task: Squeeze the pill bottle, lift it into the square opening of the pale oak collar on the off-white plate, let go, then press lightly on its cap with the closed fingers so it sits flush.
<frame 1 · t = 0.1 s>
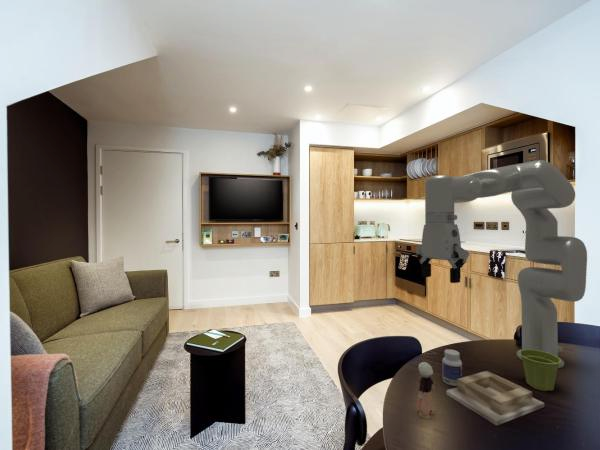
hand: (440, 279, 84), 31 cm above the table, tool pointing down, fingers open, 9 cm apart
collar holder: (493, 400, 79), on the table
plant pot: (539, 386, 85), on the table
pill bottle: (452, 382, 88), on the table
grandmother figurine: (425, 415, 73), on the table
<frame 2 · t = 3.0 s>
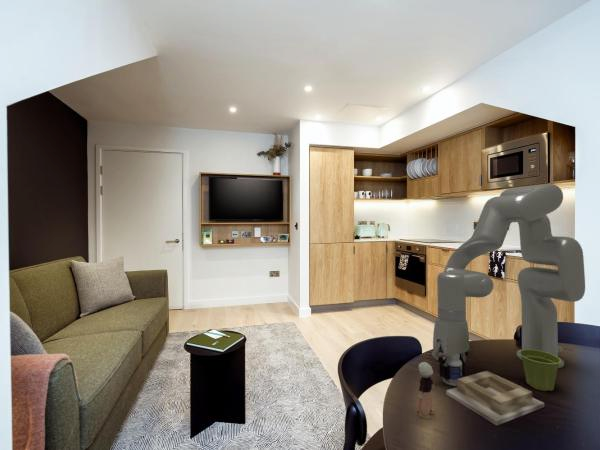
hand: (452, 375, 88), 2 cm above the table, tool pointing down, fingers closed on pill bottle, 5 cm apart
pill bottle: (452, 382, 88), on the table, touching gripper
everything else where it was.
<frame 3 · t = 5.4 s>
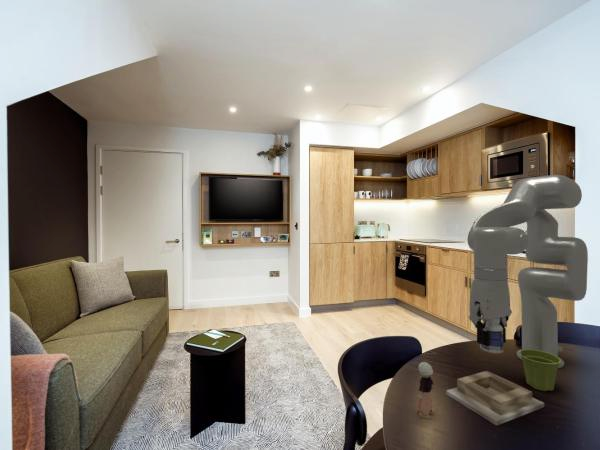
hand: (491, 342, 79), 15 cm above the table, tool pointing down, fingers closed on pill bottle, 5 cm apart
pill bottle: (491, 350, 79), point 13 cm above the table, touching gripper
everything else where it was.
when the fingers open (4 cm above the table, at t = 7.9 s): pill bottle drops 1 cm, resting on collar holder.
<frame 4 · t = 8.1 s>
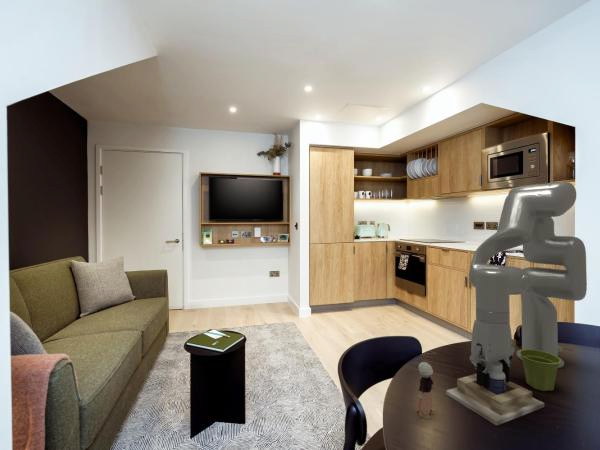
hand: (493, 382, 79), 5 cm above the table, tool pointing down, fingers open, 7 cm apart
pill bottle: (493, 396, 79), point 1 cm above the table, touching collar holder
everything else where it was.
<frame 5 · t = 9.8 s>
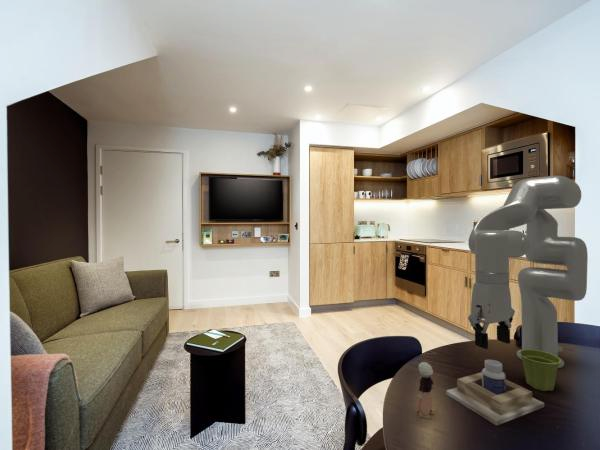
hand: (492, 344, 79), 15 cm above the table, tool pointing down, fingers open, 7 cm apart
nothing on the table moved.
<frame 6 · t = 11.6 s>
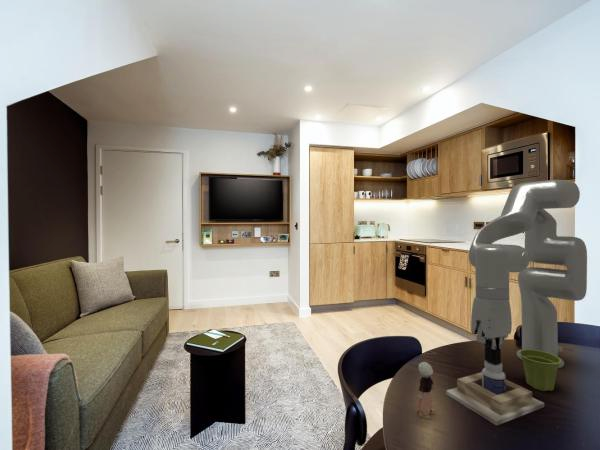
hand: (492, 362, 79), 10 cm above the table, tool pointing down, fingers closed
nothing on the table moved.
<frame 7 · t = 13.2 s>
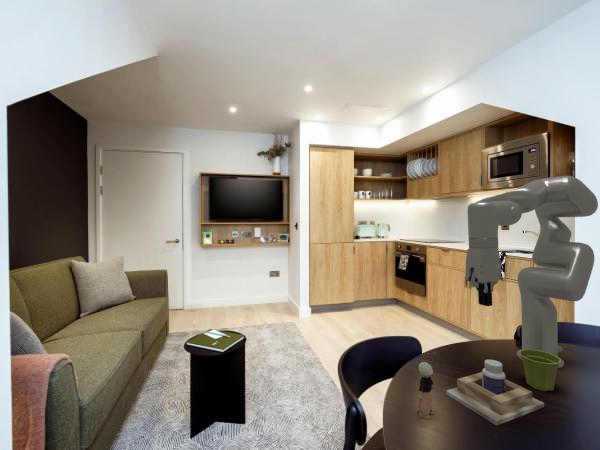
hand: (485, 304, 89), 23 cm above the table, tool pointing down, fingers closed
nothing on the table moved.
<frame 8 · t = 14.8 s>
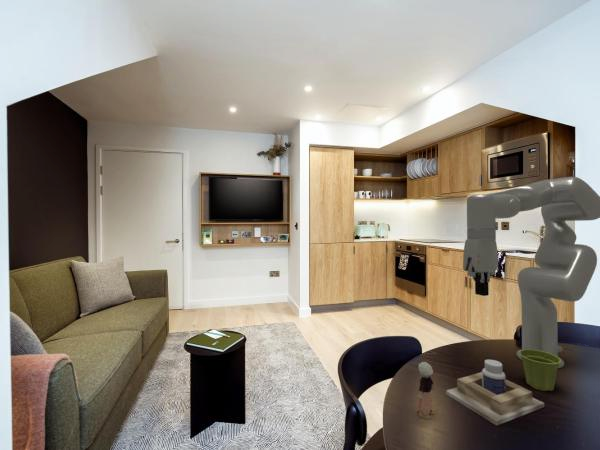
hand: (481, 294, 91), 25 cm above the table, tool pointing down, fingers closed
nothing on the table moved.
at the end: pill bottle 0.3 cm off-centre on the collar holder, point 0.8 cm above the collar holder's base; pill bottle tilted 0°; the gripper is holding nothing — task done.
